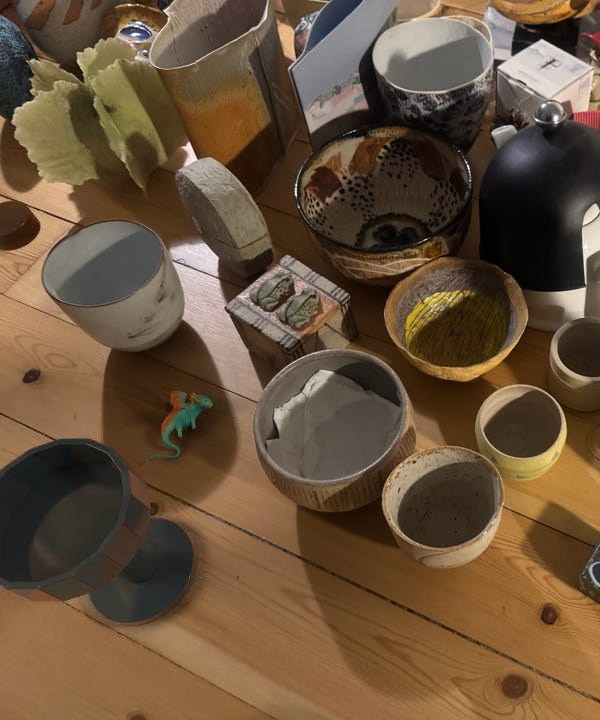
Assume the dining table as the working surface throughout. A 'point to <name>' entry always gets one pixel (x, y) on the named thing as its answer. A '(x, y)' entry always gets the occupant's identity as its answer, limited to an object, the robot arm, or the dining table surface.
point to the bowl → (89, 534)
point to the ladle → (17, 225)
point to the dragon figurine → (182, 416)
